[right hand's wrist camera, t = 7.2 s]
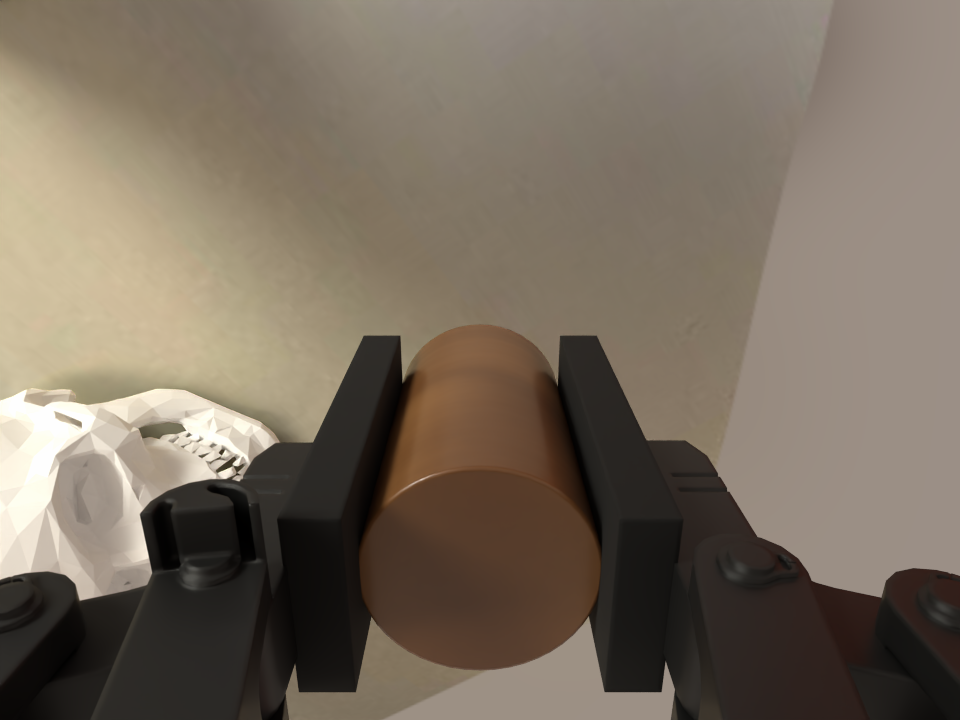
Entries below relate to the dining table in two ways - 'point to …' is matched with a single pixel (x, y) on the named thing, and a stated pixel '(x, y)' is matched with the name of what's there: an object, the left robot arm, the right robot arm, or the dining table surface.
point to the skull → (104, 478)
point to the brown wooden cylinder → (479, 509)
